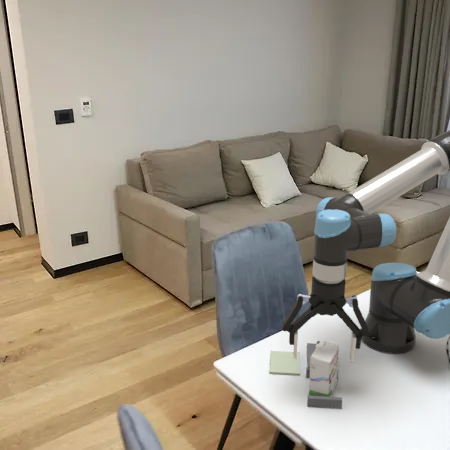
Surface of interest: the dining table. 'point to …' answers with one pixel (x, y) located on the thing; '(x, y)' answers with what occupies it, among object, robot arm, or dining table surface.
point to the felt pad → (284, 363)
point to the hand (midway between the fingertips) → (323, 357)
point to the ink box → (323, 369)
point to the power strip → (320, 400)
